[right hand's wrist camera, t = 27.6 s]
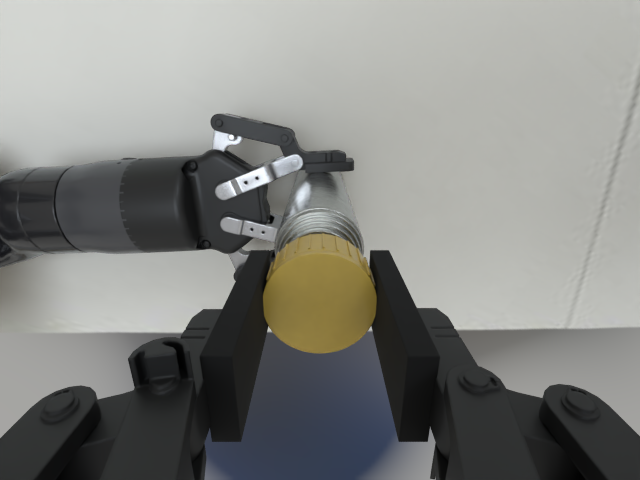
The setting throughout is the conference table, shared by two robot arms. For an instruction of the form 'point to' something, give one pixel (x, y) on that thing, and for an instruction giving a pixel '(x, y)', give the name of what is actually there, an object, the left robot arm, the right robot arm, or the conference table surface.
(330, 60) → the conference table surface
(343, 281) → the cap
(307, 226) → the bottle
